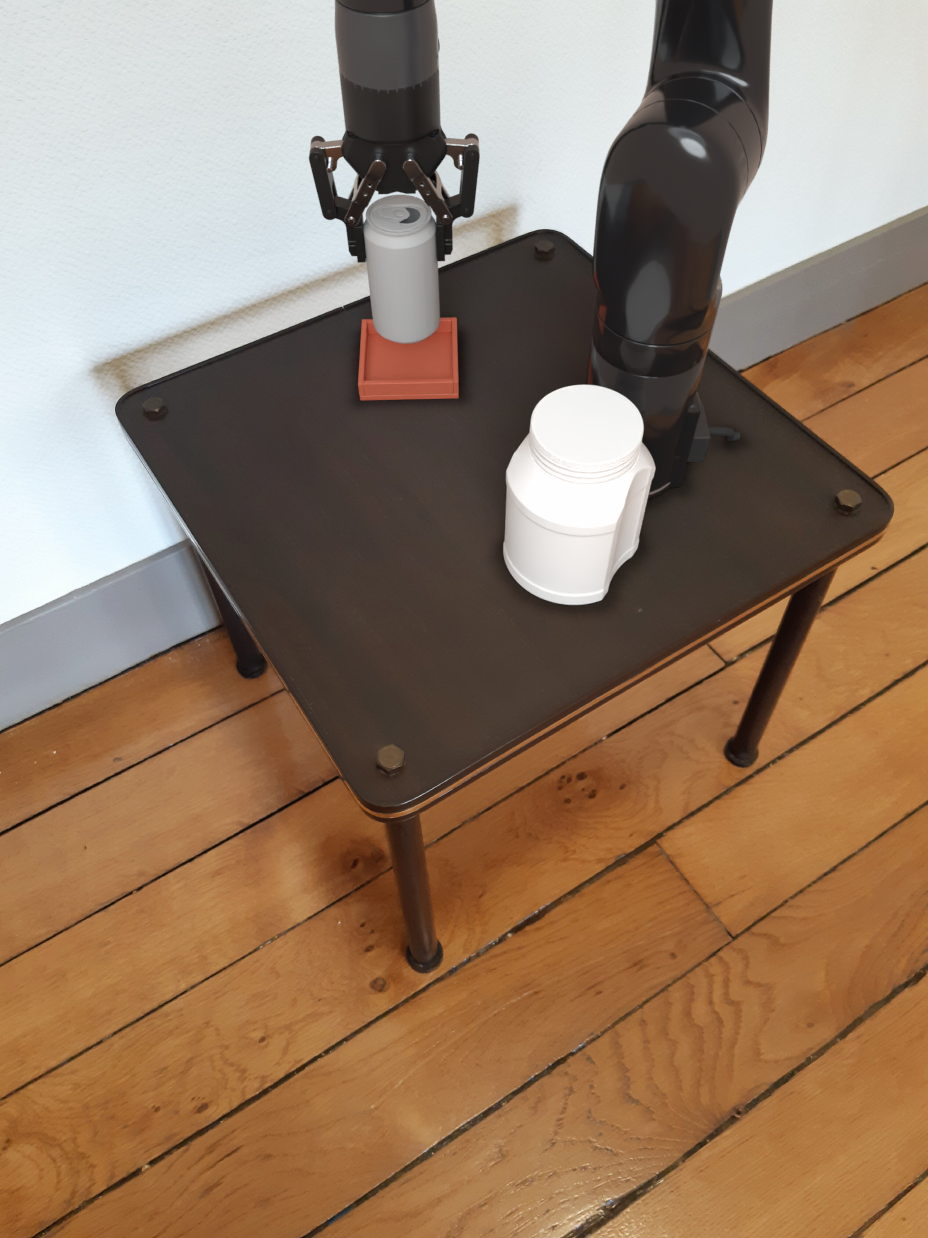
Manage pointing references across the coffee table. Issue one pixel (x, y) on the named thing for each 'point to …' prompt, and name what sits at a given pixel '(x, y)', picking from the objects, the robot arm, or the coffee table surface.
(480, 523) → the coffee table surface
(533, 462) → the jar
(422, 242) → the beverage can
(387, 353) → the red tray
